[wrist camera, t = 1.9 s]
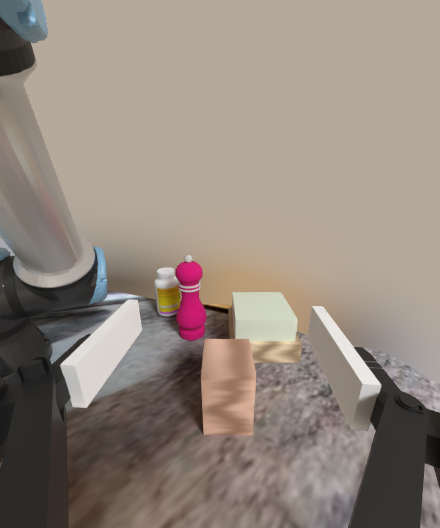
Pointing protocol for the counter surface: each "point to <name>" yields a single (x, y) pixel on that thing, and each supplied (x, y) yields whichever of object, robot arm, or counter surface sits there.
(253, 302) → the sage top block
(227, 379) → the clay pillar block
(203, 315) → the pepper mill
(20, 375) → the robot arm
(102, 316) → the counter surface
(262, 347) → the oak base block
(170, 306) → the supplement bottle
